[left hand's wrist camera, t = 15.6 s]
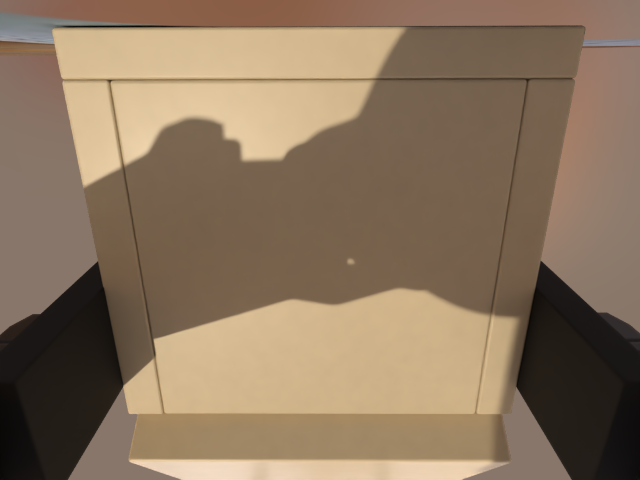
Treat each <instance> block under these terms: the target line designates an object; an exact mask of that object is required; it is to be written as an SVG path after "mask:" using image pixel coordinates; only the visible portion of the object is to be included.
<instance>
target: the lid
mask: <svg viewBox="0 0 640 480" xmlns="http://www.w3.org/2000/svg"><path fill="white" fill-rule="evenodd" d="M129 461H130V462H132V463H135V464H138V465H141V466H144V467H146V468H149V469H152V470H155V471H158V472H161V473H164V474H167V475H170V476H173V477H176V478H179V479H182V480H461V479H464V478H467V477H470V476H473V475H476V474H479V473H481V472H484V471H487V470H490V469H493V468H496V467H499V466H502V465H505V464H508V463H510V462H511V455H510V450H509V445H508V440H507V436H506V431H505V426H504V421H503V416H502V414H477V413H476V411H475V413H474V414H167V413H165V412H163V413H162V414H138V416H137V421H136V426H135V430H134V435H133V440H132V445H131V450H130V454H129Z"/></svg>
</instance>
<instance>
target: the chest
mask: <svg viewBox="0 0 640 480" xmlns="http://www.w3.org/2000/svg"><path fill="white" fill-rule="evenodd" d="M52 33H53V38H54V43H55V48H56V53H57V58H58V63H59V68H60V73H61V77H62V78H63V79H65V80H64V81H63V83H62V84H63V89H64V94H65V99H66V104H67V109H68V114H69V119H70V124H71V128H72V134H73V139H74V144H75V148H76V154H77V158H78V163H79V168H80V173H81V178H82V183H83V188H84V193H85V198H86V203H87V208H88V213H89V218H90V223H91V228H92V233H93V238H94V243H95V248H96V253H97V258H98V263H99V268H100V273H101V278H102V283H103V287H104V290H105V295H106V300H107V305H108V310H109V315H110V320H111V325H112V330H113V335H114V340H115V345H116V350H117V355H118V361H119V366H120V371H121V376H122V381H123V387H124V392H125V397H126V402H127V407H128V412H129V413H130V414H162V413H163V412H165V413H167V414H474V413H475V411H476V413H477V414H510V413H511V411H512V406H513V401H514V396H515V390H516V385H517V380H518V375H519V370H520V365H521V359H522V354H523V349H524V344H525V339H526V334H527V328H528V323H529V318H530V313H531V308H532V303H533V297H534V292H535V287H536V282H537V277H538V272H539V266H540V261H541V256H542V251H543V246H544V241H545V235H546V230H547V225H548V220H549V215H550V210H551V204H552V199H553V194H554V189H555V183H556V179H557V173H558V168H559V163H560V158H561V153H562V147H563V142H564V137H565V132H566V127H567V122H568V116H569V111H570V106H571V101H572V96H573V90H574V85H575V80H574V79H572V78H574V77H576V75H577V70H578V65H579V60H580V55H581V50H582V45H583V39H584V34H585V27H584V26H328V27H55V28H53V29H52Z"/></svg>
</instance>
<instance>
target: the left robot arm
mask: <svg viewBox="0 0 640 480" xmlns="http://www.w3.org/2000/svg"><path fill="white" fill-rule="evenodd" d="M516 387H517V389H518V390H519V392H520V394H521V395H522V397H523V399H524V400H525V402H526V403H527V405H528V407H529V409H530V410H531V412H532V414H533V415H534V417H535V419H536V420H537V422H538V424H539V425H540V427H541V429H542V430H543V432H544V434H545V435H546V437H547V439H548V440H549V442H550V444H551V446H552V447H553V449H554V451H555V452H556V454H557V456H558V457H559V459H560V461H561V462H562V464H563V466H564V467H565V469H566V471H567V472H568V474H569V476H570V477H571V479H572V480H640V333H639V332H638V331H636V330H635V329H634V328H633V327H632V326H631V325H629V324H627V323H626V322H624V321H622V320H620V319H618V318H616V317H614V316H612V315H610V314H609V313H597V312H596V311H595V310H594V309H593V308H592V307H590V306H589V305H588V304H587V303H586V302H585V301H584V300H583V299H582V298H581V297H580V296H579V295H577V294H576V293H575V292H574V291H573V290H572V289H571V288H570V287H569V286H568V285H567V284H566V283H564V282H563V281H562V280H561V279H560V278H559V277H558V276H557V275H556V274H555V273H554V272H553V271H551V270H550V269H549V268H548V267H547V266H546V265H545V264H544V263H543V262H542V261H540V266H539V272H538V277H537V282H536V287H535V292H534V297H533V303H532V308H531V313H530V318H529V323H528V328H527V334H526V339H525V344H524V349H523V354H522V359H521V365H520V370H519V375H518V380H517V385H516ZM122 388H123V381H122V376H121V371H120V366H119V361H118V355H117V350H116V345H115V340H114V335H113V330H112V325H111V320H110V315H109V310H108V305H107V300H106V295H105V290H104V287H103V283H102V278H101V273H100V268H99V263H98V262H97V263H96V264H95V265H93V266H92V267H91V268H90V269H89V270H88V271H87V272H86V273H85V274H84V275H83V276H82V277H80V278H79V279H78V280H77V281H76V282H75V283H74V284H73V285H72V286H71V287H70V288H68V289H67V290H66V291H65V292H64V293H63V294H62V295H61V296H60V297H59V298H58V299H57V300H55V301H54V302H53V303H52V304H51V305H50V306H49V307H48V308H47V309H46V310H45V311H44V312H42V313H41V314H32V315H31V316H29V317H27V318H25V319H23V320H21V321H19V322H17V323H16V324H14V325H12V326H10V327H9V328H8V329H7V330H5V331H4V332H3V333H2V334H1V335H0V480H68V478H69V477H70V475H71V473H72V472H73V470H74V468H75V467H76V465H77V463H78V461H79V460H80V458H81V456H82V455H83V453H84V451H85V450H86V448H87V446H88V445H89V443H90V441H91V440H92V438H93V436H94V435H95V433H96V431H97V430H98V428H99V426H100V425H101V423H102V421H103V420H104V418H105V416H106V414H107V413H108V411H109V409H110V408H111V406H112V404H113V403H114V401H115V399H116V398H117V396H118V394H119V393H120V391H121V389H122Z"/></svg>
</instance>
